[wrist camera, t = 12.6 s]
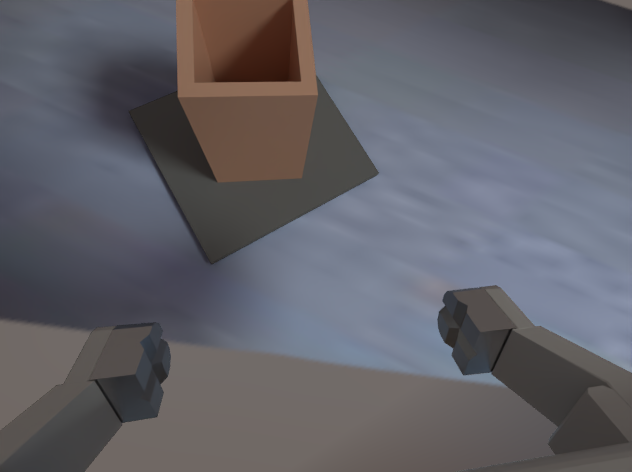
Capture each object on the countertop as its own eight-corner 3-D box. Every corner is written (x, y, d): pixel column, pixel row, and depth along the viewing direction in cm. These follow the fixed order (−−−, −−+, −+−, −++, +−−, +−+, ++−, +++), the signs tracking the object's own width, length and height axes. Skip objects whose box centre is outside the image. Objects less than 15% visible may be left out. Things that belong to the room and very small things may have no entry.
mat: (294, 46, 24) (294, 42, 23) (377, 175, 22) (378, 172, 22) (131, 114, 21) (128, 111, 21) (212, 264, 20) (210, 263, 19)
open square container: (294, 105, 22) (305, -16, 14) (301, 178, 21) (318, 94, 13) (214, 106, 21) (175, -20, 13) (217, 182, 20) (177, 97, 12)
